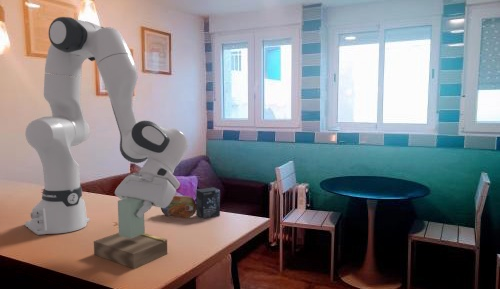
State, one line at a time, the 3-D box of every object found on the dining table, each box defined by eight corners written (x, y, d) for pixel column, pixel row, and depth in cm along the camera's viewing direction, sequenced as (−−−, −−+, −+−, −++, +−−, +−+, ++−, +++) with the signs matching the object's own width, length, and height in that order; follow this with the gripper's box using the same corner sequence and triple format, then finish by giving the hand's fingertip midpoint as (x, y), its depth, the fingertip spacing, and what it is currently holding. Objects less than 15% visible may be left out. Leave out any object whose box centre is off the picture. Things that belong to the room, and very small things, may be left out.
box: (202, 219, 140) (202, 192, 139) (195, 215, 145) (195, 189, 144) (220, 216, 144) (220, 189, 143) (213, 212, 149) (213, 186, 148)
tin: (159, 215, 145) (159, 194, 144) (164, 213, 148) (164, 192, 147) (193, 219, 139) (193, 198, 139) (197, 217, 142) (197, 196, 142)
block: (118, 235, 105) (117, 200, 104) (133, 230, 109) (132, 197, 108) (130, 238, 102) (129, 203, 101) (144, 233, 106) (143, 199, 105)
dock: (94, 254, 106) (93, 240, 106) (128, 241, 116) (127, 228, 116) (134, 268, 97) (133, 253, 96) (167, 253, 107) (167, 239, 107)
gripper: (125, 166, 115) (99, 203, 108) (173, 172, 104) (147, 214, 97) (137, 177, 119) (112, 214, 112) (184, 185, 108) (160, 226, 101)
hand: (129, 214), depth 105 cm, fingers closed on block, 5 cm apart
